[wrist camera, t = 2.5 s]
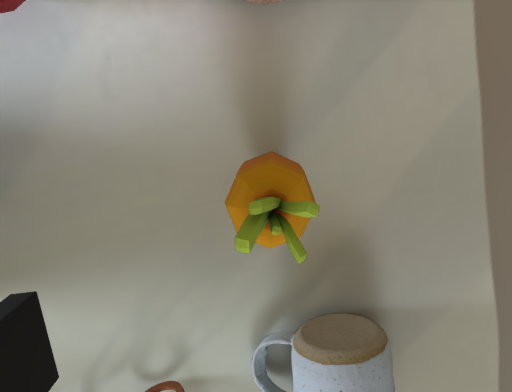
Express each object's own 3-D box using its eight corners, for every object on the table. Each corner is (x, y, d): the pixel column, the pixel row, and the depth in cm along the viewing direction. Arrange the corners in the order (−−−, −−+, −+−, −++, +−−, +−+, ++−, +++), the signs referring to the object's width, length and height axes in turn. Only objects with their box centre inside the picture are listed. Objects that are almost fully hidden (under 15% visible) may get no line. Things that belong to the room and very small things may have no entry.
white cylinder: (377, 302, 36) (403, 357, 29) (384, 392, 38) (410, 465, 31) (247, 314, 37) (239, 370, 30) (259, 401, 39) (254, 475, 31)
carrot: (305, 139, 34) (332, 176, 19) (301, 204, 35) (324, 286, 20) (238, 137, 34) (213, 173, 19) (237, 202, 35) (213, 282, 20)
